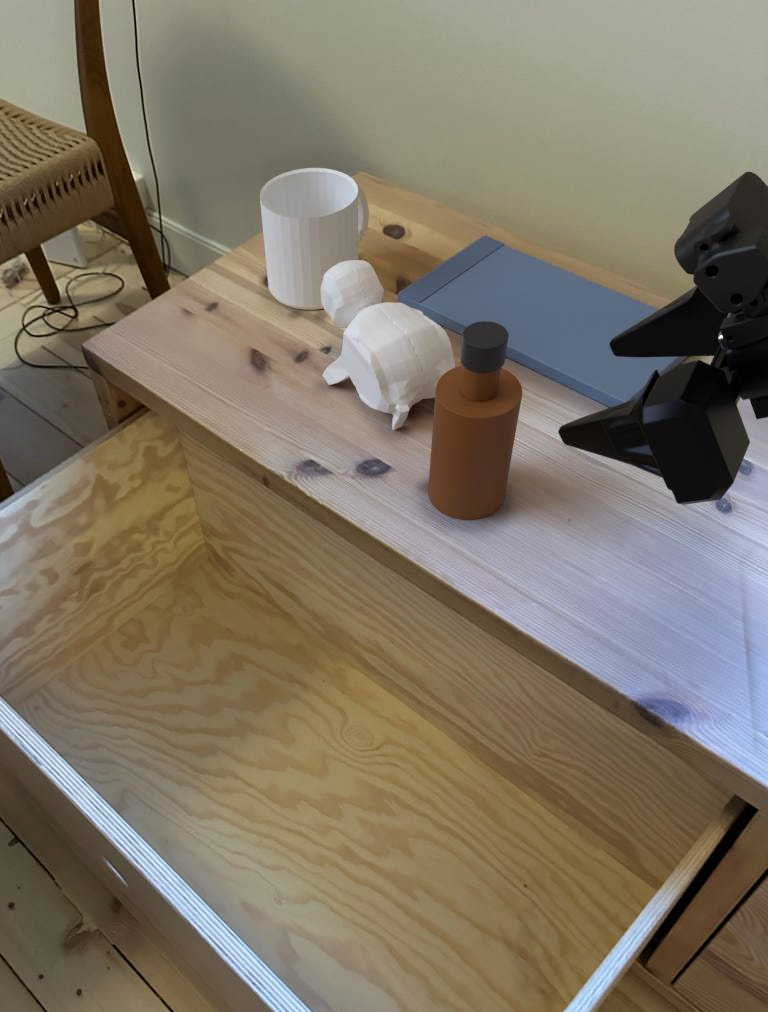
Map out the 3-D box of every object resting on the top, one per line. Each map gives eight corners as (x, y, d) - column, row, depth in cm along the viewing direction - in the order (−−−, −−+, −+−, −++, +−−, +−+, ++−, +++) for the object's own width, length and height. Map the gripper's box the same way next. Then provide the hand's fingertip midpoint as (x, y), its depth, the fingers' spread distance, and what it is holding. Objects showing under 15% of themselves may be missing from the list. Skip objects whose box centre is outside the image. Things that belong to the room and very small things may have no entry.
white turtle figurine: (451, 418, 81) (365, 291, 84) (481, 362, 73) (385, 224, 76) (372, 455, 79) (287, 324, 82) (394, 402, 71) (299, 258, 74)
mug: (300, 322, 86) (294, 229, 79) (251, 281, 91) (241, 189, 83) (400, 277, 89) (403, 184, 82) (348, 239, 94) (347, 148, 87)
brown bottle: (507, 470, 72) (534, 310, 61) (501, 524, 69) (528, 365, 57) (433, 462, 73) (445, 305, 62) (423, 515, 70) (434, 358, 58)
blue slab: (705, 341, 80) (709, 328, 79) (622, 414, 75) (626, 401, 74) (481, 246, 92) (483, 234, 91) (397, 304, 87) (397, 291, 86)
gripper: (882, 71, 44) (588, 195, 56) (797, 266, 35) (467, 366, 46) (927, 272, 49) (651, 347, 61) (864, 487, 40) (553, 528, 52)
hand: (587, 390), depth 55 cm, fingers open, 9 cm apart
